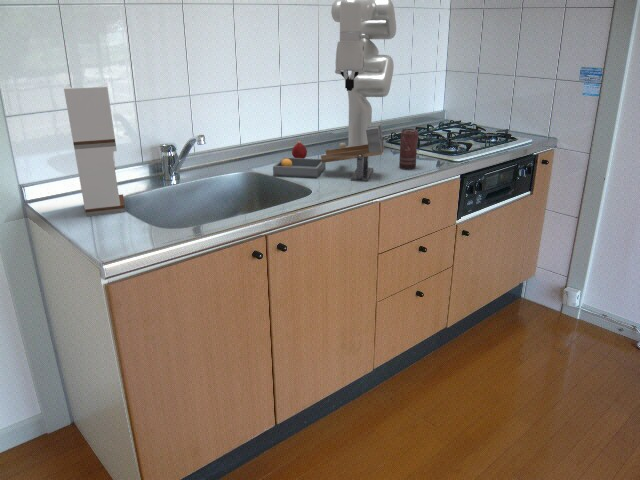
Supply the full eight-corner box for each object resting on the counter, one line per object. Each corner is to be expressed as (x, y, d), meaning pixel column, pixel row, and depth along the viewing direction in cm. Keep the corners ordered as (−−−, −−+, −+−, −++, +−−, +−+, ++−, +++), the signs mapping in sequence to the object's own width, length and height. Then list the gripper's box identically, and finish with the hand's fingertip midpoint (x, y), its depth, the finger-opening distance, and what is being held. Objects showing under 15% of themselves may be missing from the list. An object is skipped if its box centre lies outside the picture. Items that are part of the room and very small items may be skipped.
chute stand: (357, 169, 202) (357, 146, 198) (373, 170, 201) (374, 146, 197) (350, 180, 188) (351, 155, 185) (368, 181, 187) (368, 156, 184)
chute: (331, 152, 207) (327, 128, 204) (386, 144, 201) (383, 119, 198) (322, 162, 191) (317, 137, 188) (381, 154, 186) (377, 128, 183)
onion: (309, 160, 216) (309, 140, 213) (303, 163, 211) (302, 143, 208) (296, 159, 218) (295, 139, 215) (289, 162, 213) (289, 141, 210)
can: (416, 170, 201) (418, 131, 195) (398, 169, 202) (400, 131, 197) (416, 166, 206) (419, 128, 201) (399, 165, 207) (401, 128, 202)
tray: (284, 166, 207) (283, 157, 206) (325, 168, 204) (325, 159, 202) (273, 176, 194) (272, 166, 193) (317, 178, 191) (317, 168, 190)
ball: (295, 163, 200) (287, 170, 202) (288, 155, 200) (280, 161, 201) (292, 166, 197) (284, 173, 198) (285, 157, 196) (277, 164, 198)
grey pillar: (125, 211, 159) (107, 87, 146) (86, 216, 155) (63, 88, 142) (124, 200, 169) (106, 82, 156) (86, 204, 165) (66, 84, 152)
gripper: (372, 37, 197) (371, 89, 204) (331, 37, 200) (331, 88, 207) (369, 37, 191) (368, 92, 197) (327, 37, 194) (327, 91, 200)
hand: (349, 90), depth 202 cm, fingers closed
